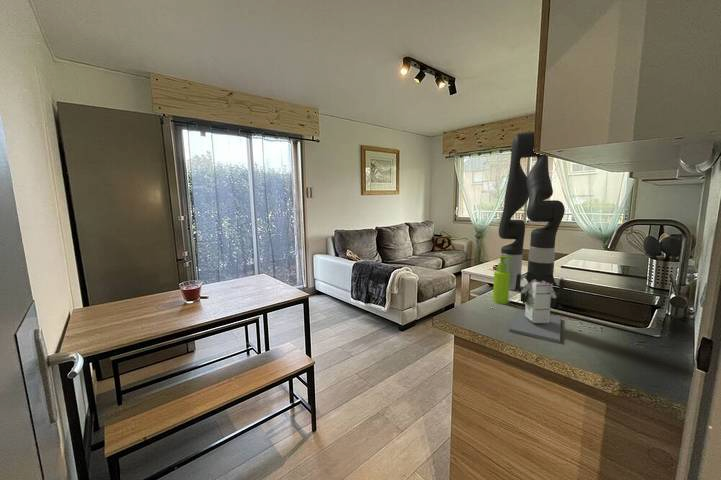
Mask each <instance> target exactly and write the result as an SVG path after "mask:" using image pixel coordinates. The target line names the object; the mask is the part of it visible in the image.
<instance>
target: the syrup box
mask: <svg viewBox="0 0 721 480" xmlns="http://www.w3.org/2000/svg"><path fill="white" fill-rule="evenodd" d="M526 281H527V280H526ZM546 283H547V284H548V285H549V287H550V288H551V289H552V288H553V284H554V283H552V284H549V283H548V282H546ZM526 284H527V285H528V284H529V283H528V281H527V282H526ZM546 286H547V285H546V284H545V283H543V282H541V281H537V282H532V287H530V288H529V289H528V290H527V291H526V301H525V307H524V310H525V317H527V318H528V319H529V320H530V321H531V322H533V323H549V318H550V315H551V297H552V296H551V294H550V293H549V292H548V291H547V289H546Z"/></svg>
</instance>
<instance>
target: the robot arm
mask: <svg viewBox="0 0 721 480" xmlns="http://www.w3.org/2000/svg"><path fill="white" fill-rule="evenodd" d="M534 132H535V131H531V132H530V131H529V132H520V133H517V134H515V135H514V137H513V140H512V144H511V153H510V154H511V155H510V165H509V172H508V178H507V183H506V188H505V195H504V203H503V204H504V205H503V208H502V209H503V210H502V213H501V219H500V221H499V222H500V223H499V227H498V235H499V238H500V239H504V240H514V241H513V242H511V243H509V244H507V245H503V246H502V247H501V249H500V256H511V257H513V258H505V263H506V264H507V271H508V272H510V277H509V291H518V292H520V302H522V304H525V303H526V291H527V290H528V289H529V288H530V287H532V282H537V281H541V282H543V283H545V284H546V285H547V286H546V289H547V291H548V292H549V293H550V294H551V307H550V309H554V308H556V305H557V299H558V298H563V297H564V292H565V291H564V289H565V279H564V278H562V277H561V278H556V277H554V270H555V261H556V260H555V259H556V258H555V257H556V250H555V247H556V237H557V233H558V230H559V227H560V225H561V222H562V221H563V218H564V215H565V212H566V208H565V205H564V203H563V202H562V201H560V200H556V199H553V200H551V199H550V198H551V197H552V196H553V194H554V188H553V185H552V181H551V177H550V172H549V170H550V169H549V155H548V156H546V155H540V154H536V153H534V151H533V147H534ZM535 157H536V161H535V163H534V165H533V166H532V168H531V169H530V171H529V172H528V174H526V173H525V172H524V169H523V168H522V165H521V159H523V158H524V159H525V158H535ZM548 199H550V200H548ZM526 203H527V207H526V212H525V213H526V217H527V219H528V220H530V221H531V222H535V223H537V222H539V223H544V222H545V223H546V222H547V223H546V224H545V226H543V227H538V228H534V229H532V230H531V233H530V246H529V250H528V256H527V259H528V260H527V272H526V274H523V273H522V268H523V265H522V264H523V255H524V254H523V253H524V252H523V251H524V241H525V233H526V224H525V221H524V220H521V219H512V218H513V217H514V216H515V214H516V213H517V212H518V211H519V210H520V209H522V207H524V206H525V205H526ZM524 279H525V280H526V281H528V283H529V284H528V285H527V283H526V284H525V286H523V287H521V284H522V283H521V282H522V281H523V280H524ZM546 282H548V283H549V284H552V283H553V284H554V283H556V285H557V286H559V287H558V292H556V291H555V290H554V287H552V289H551V288H550V287H549V285H548V284H547V283H546Z"/></svg>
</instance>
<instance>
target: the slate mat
mask: <svg viewBox="0 0 721 480" xmlns="http://www.w3.org/2000/svg"><path fill="white" fill-rule="evenodd" d="M561 319H562V317H561V316H560V315H559V316H558V315H551V314H550V318H549V323H533V322H531V321H530V320H529V319H528V318H527V317H525V309H521V308H517V310H516V311H515V314H514V317H513V319H512V322H511V325H510V327H509V332H510V333H514V334H519V335H522V336H527V337H531V338H536V339H540V340H541V339H542V340H545V341H549V342H554V343H559V344H560V343H561V324H562V323H561V321H562V320H561Z"/></svg>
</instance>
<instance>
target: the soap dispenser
mask: <svg viewBox="0 0 721 480" xmlns="http://www.w3.org/2000/svg"><path fill="white" fill-rule="evenodd" d="M498 258H499V259H500V261H499V262H498V263H497V269H496V270H494V271H493V272H494V274H493V275H494V276H493V291H492V302H494V303H496V304H499V305H500V304H501V305H507V304H508V303H509V291H510V290H509V277H510V272H508V271H507V264H506V263H505V258H513V257H511V256H501V255H499V256H498Z"/></svg>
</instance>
